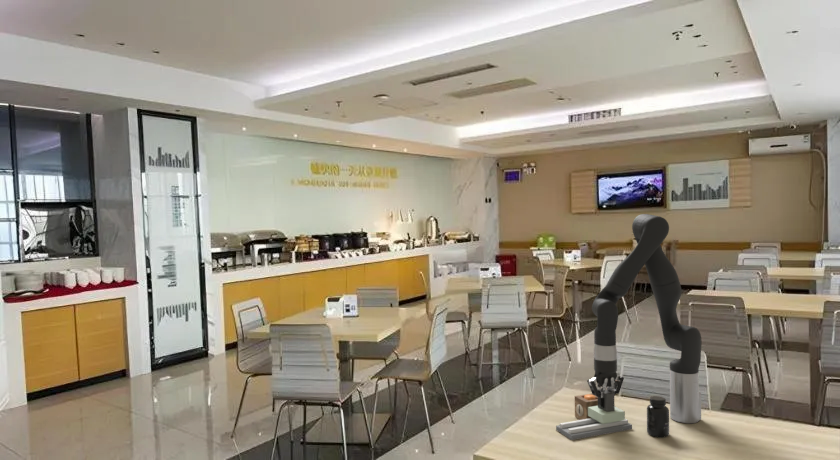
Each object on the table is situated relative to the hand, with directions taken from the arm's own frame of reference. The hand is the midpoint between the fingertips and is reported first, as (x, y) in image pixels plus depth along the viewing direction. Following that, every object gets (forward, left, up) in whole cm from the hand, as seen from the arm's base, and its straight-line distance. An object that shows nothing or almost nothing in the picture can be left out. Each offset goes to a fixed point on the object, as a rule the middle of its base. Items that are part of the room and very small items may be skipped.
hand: (606, 406), depth 188 cm
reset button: (0, -9, -3) cm, 10 cm away
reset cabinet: (0, -9, -7) cm, 11 cm away
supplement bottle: (-12, +11, -7) cm, 18 cm away
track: (+5, 0, -7) cm, 9 cm away
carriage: (0, 0, -4) cm, 4 cm away
